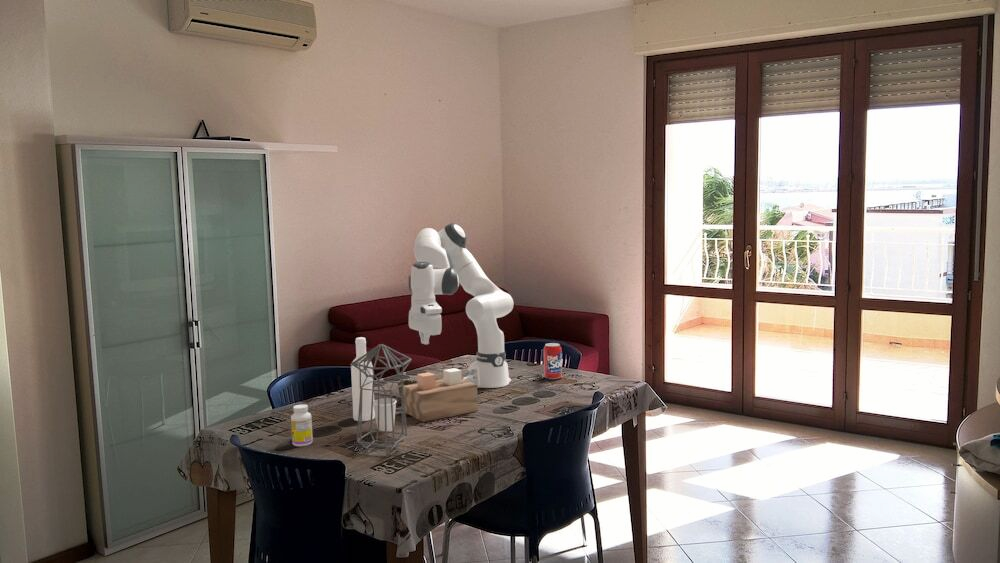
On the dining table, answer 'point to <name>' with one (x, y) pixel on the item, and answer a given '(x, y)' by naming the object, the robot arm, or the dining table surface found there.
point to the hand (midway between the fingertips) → (425, 343)
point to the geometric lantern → (356, 364)
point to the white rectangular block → (452, 376)
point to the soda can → (552, 361)
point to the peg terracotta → (426, 381)
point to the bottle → (356, 384)
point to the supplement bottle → (301, 426)
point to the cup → (406, 384)
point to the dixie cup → (382, 413)
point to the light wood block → (440, 400)
